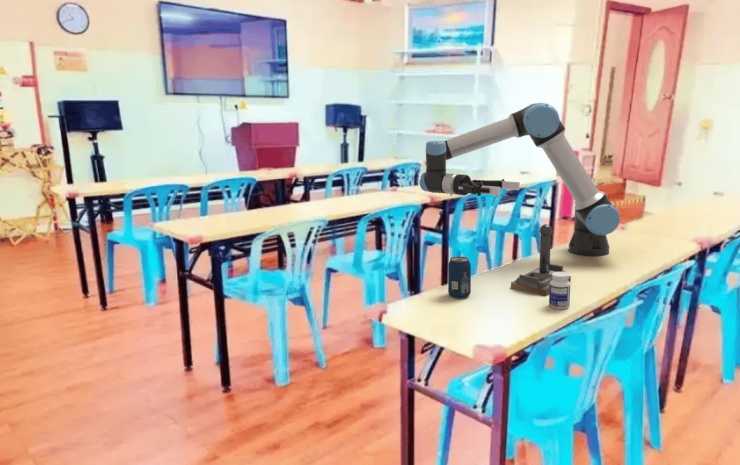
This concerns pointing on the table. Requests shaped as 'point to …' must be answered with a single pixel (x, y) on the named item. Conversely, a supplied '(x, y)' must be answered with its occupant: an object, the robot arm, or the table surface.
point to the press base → (535, 282)
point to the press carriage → (544, 253)
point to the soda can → (459, 277)
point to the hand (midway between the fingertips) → (509, 188)
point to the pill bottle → (559, 291)
